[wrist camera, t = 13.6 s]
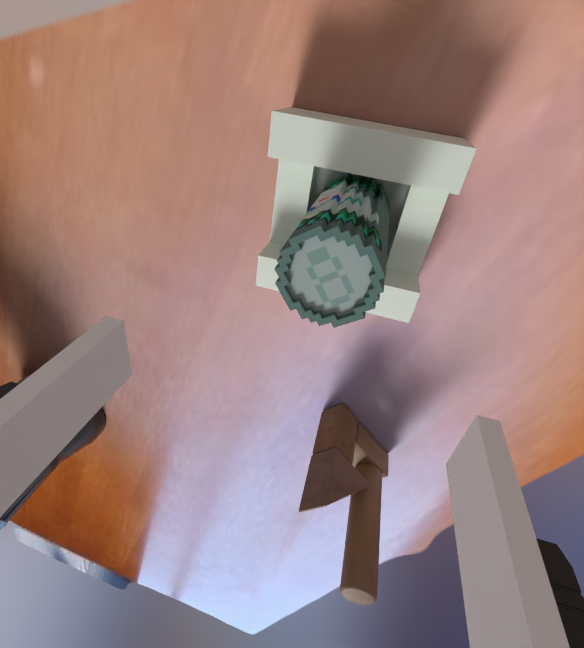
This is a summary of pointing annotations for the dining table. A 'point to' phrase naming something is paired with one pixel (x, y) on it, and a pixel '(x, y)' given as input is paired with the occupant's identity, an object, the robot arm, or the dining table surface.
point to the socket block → (374, 162)
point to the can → (337, 253)
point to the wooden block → (350, 479)
